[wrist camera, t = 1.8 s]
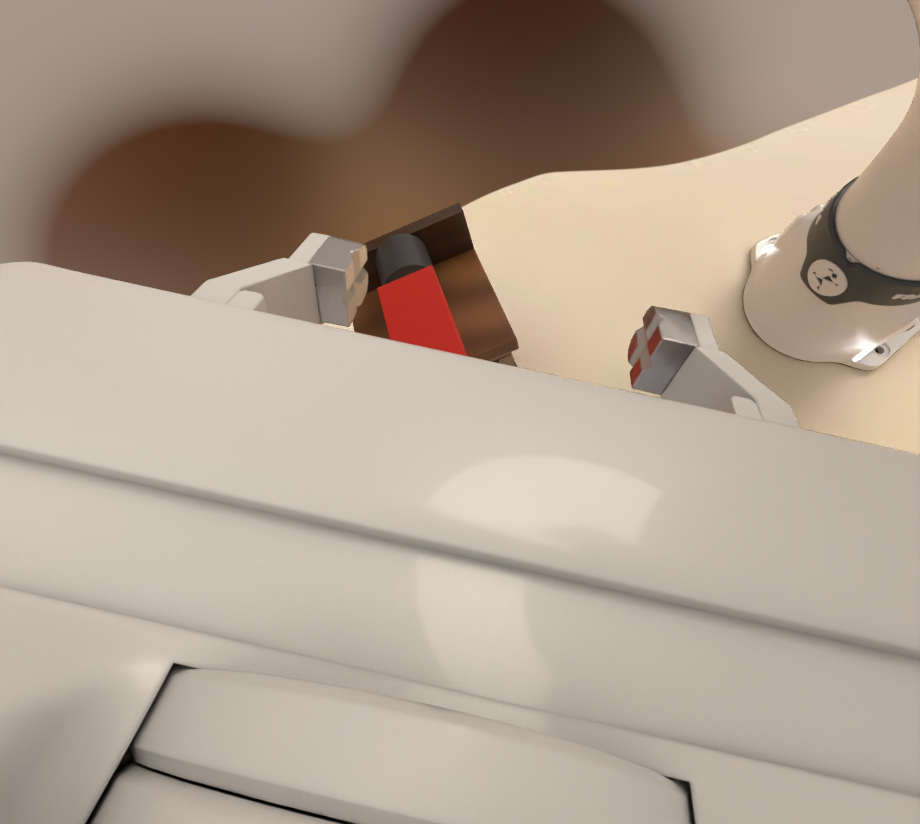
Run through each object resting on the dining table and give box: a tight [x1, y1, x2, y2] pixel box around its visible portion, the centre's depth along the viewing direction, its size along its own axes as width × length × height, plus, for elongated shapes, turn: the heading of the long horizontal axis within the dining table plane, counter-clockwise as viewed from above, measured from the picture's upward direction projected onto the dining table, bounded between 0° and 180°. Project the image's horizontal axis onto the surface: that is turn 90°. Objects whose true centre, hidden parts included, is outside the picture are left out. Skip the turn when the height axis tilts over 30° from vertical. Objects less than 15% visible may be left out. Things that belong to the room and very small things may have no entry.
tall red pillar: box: [375, 234, 468, 356], centre depth 32 cm, size 20×4×9 cm, turn 19°
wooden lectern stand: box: [353, 203, 519, 367], centre depth 45 cm, size 14×14×23 cm
